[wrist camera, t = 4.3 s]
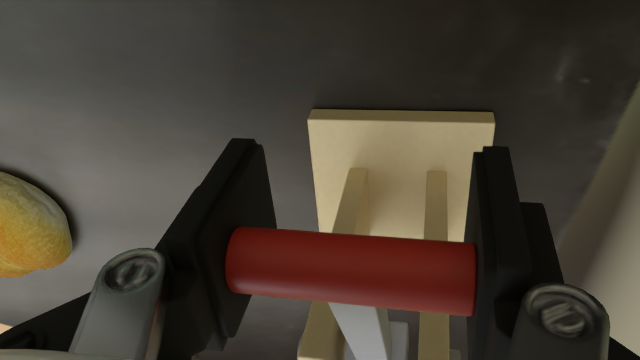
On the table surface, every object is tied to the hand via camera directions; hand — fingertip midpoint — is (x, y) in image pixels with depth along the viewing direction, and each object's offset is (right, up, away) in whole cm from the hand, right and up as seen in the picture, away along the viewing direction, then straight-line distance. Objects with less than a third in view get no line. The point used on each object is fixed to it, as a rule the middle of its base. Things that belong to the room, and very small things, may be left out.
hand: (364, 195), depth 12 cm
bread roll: (-23, -2, +23) cm, 33 cm away
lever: (+1, -3, +3) cm, 4 cm away
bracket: (+3, 0, +15) cm, 16 cm away
